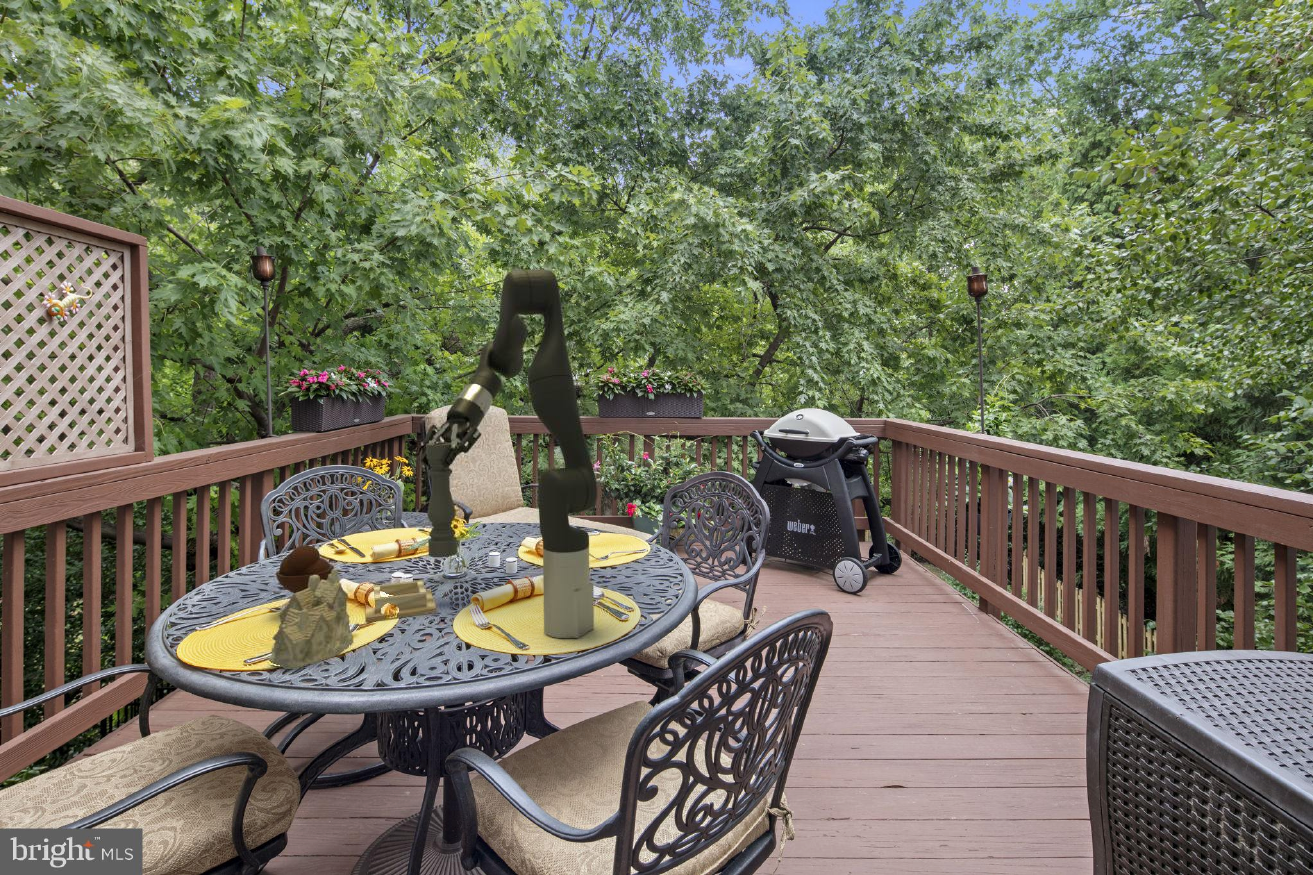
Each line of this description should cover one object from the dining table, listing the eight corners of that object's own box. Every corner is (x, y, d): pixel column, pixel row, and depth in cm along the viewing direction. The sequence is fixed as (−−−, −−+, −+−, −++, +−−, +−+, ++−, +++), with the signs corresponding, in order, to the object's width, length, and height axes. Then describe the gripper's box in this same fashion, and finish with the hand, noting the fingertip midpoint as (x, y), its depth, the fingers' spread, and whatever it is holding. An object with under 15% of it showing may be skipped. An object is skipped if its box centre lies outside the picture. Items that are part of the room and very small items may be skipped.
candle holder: (448, 558, 142) (444, 445, 139) (423, 556, 143) (418, 445, 141) (462, 550, 148) (459, 442, 146) (438, 549, 149) (434, 442, 147)
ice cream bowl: (346, 607, 144) (343, 541, 142) (299, 624, 133) (296, 553, 132) (313, 600, 148) (310, 536, 147) (266, 616, 138) (263, 547, 137)
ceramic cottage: (317, 625, 132) (311, 555, 130) (370, 644, 125) (365, 570, 122) (238, 658, 119) (230, 581, 117) (293, 681, 111) (285, 600, 109)
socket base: (436, 612, 140) (435, 594, 140) (366, 622, 135) (365, 603, 134) (430, 593, 153) (429, 576, 153) (365, 601, 147) (365, 584, 147)
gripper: (438, 396, 152) (400, 451, 142) (486, 397, 146) (449, 455, 136) (455, 417, 157) (419, 472, 148) (502, 419, 151) (467, 476, 141)
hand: (434, 463), depth 142 cm, fingers closed on candle holder, 5 cm apart
